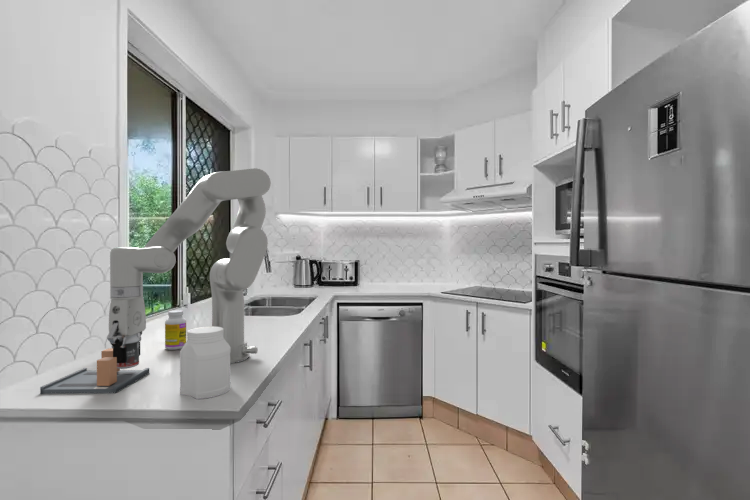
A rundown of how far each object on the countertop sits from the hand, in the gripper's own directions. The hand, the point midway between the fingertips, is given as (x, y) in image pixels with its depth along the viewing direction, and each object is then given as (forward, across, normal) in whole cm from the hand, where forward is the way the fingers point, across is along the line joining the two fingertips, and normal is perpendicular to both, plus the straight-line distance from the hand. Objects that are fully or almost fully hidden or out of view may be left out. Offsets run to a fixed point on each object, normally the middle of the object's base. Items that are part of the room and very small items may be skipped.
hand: (127, 358), depth 110 cm
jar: (+5, -11, -25) cm, 28 cm away
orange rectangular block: (+4, 0, +4) cm, 6 cm away
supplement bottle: (+5, +32, +1) cm, 32 cm away
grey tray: (+5, -4, +5) cm, 8 cm away
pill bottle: (+2, 0, 0) cm, 2 cm away
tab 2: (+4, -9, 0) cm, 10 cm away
